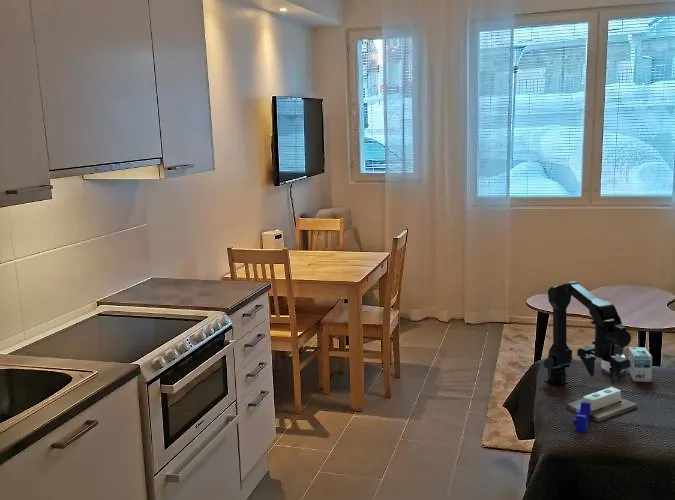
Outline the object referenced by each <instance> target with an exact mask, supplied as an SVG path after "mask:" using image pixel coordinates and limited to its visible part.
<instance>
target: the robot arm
mask: <svg viewBox="0 0 675 500" xmlns="http://www.w3.org/2000/svg"><path fill="white" fill-rule="evenodd" d="M572 297H573V298H574V299H576V301H578V302H579V303H580V304H582V305H583V306H584V307H586V309H588V312H589V315H590V317H592V320H591V322H590V323H591V324H592V325H594V327H595V328H594V340H592V343H591V344H592V345H594V347H592V346H591V345H586V346H582V347H579V348H578V349H577V351H576V353H577V354H576V355H577V357H579V359H580V360H581V361H582V363H583V365H584V366H585V368H586V370H587V372H588V374H589V376H590V377H594V376H595V375H594V374H595V362H596V359H599V360H604V361H607V362H610V366H611V368H609V370H610V373H609V375H610V376H609V377H610V382H611V385H616V382H617V380H618V378H619V376H620V374H621V373H620V372H621V371H622V370H623V369H625V370H626V369H628V368H629V367H630V360H629V358H626V357H625V358H623V357H617V358H612V356H616V354H619V355H621V356H622V354H623V352H624V349H625V348H626V347H627V346H628V345H629V344H630V343H631V340H632V336H631V334H630V332H629V331H627V327H626V326H623V323H622V319H621V317H620V315H619V313H618V311H617V309H616V306H615V305H614V304H613V303H611V302H609V301H607V300H604V299H600V298H597V297H596V296H595V295H594V294H593V293H591V292H590V291H589V290H587V289H586V288H584V286H582V285H581V284H580V282H579V281H574V280H573V281H569V282H568V281H567V282H566V283H563V284H561V285H554V286H550V287H549V289H548V290H547V298H548V302H549V304H550V306H551V307H552V336H553V337H552V339H553V340H552V345H551V346H550V348H549V349H548V350H549V351H548V355H547V356H548V357H547V358H546V359H545V360H543V367H544V368H545V369H547V378H546V379H544V381H545V383H549V384H551V385H553V386H555V387H559V386H561V385H565V384H567V383H569V381H568V380H567V372H566V369H567V368H570V366H571V363H572V361H573V350H572V349H571V348H570V347H569V345H568V344H567V341H568V340H567V336H568V335H567V329H568V328H567V308H568V307H569V305H570V303H571V302H572V301H571V300H572ZM621 325H622V326H621Z"/></svg>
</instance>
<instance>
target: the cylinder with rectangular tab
mask: <svg viewBox="0 0 675 500" xmlns="http://www.w3.org/2000/svg"><path fill="white" fill-rule="evenodd" d="M617 357H623V358H626V356H625V354H623V353H622V356H621V355H619V354H616V356H612V358H617ZM600 360H601V359H600ZM601 367H602V368H603V369H605V370H607V371H610V370H609V368H611V366H610V362H607V361H604V360H601V366H600V368H601ZM624 370H626V369H623V370H622V371H624Z"/></svg>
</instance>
